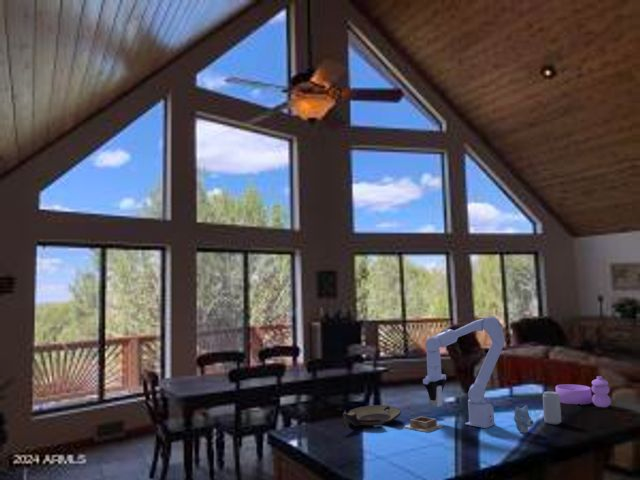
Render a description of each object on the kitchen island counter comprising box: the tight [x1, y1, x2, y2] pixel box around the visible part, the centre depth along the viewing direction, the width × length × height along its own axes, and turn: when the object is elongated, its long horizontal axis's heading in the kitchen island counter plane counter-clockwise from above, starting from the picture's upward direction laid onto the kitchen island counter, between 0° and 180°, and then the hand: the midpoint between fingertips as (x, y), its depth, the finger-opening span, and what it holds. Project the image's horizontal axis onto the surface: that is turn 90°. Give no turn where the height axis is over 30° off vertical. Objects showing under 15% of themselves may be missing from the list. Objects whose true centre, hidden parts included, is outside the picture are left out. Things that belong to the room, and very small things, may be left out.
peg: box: [428, 385, 444, 408], centre depth 222 cm, size 4×4×8 cm
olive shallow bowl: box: [342, 404, 402, 427], centre depth 223 cm, size 22×30×8 cm
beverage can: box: [542, 390, 562, 425], centre depth 215 cm, size 6×6×12 cm
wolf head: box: [513, 404, 535, 434], centre depth 202 cm, size 6×9×10 cm
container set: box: [555, 375, 612, 408], centre depth 248 cm, size 25×15×13 cm, turn 31°
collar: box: [404, 416, 444, 433], centre depth 215 cm, size 11×11×3 cm
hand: (435, 399), depth 222 cm, fingers closed on peg, 4 cm apart
